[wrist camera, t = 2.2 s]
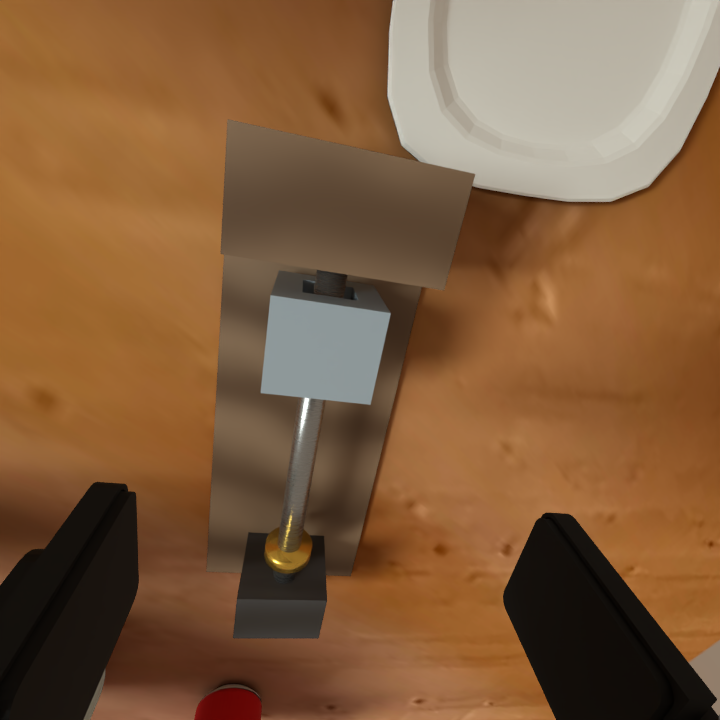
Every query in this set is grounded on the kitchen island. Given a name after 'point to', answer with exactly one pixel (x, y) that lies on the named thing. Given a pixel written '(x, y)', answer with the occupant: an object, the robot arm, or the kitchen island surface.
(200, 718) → the beverage can
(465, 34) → the plate
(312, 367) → the grey sliding block
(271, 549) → the metal rod
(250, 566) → the slide base
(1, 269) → the kitchen island surface
